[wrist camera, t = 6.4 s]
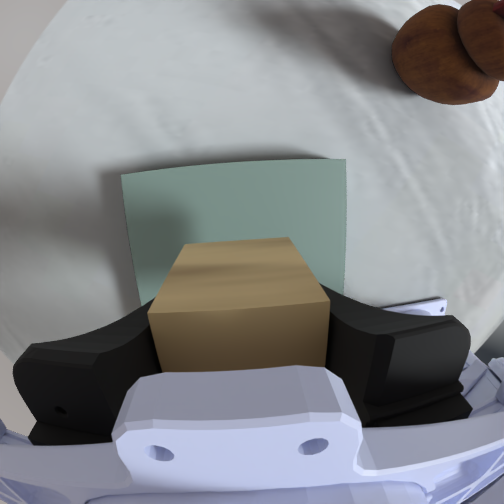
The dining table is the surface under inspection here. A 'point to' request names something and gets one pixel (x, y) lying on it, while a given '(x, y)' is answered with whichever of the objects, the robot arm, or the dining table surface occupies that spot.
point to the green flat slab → (237, 213)
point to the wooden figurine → (452, 52)
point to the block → (240, 309)
